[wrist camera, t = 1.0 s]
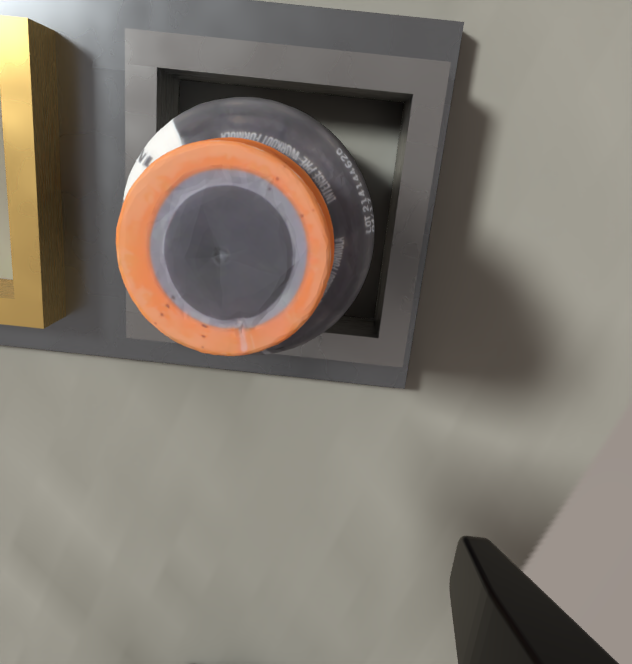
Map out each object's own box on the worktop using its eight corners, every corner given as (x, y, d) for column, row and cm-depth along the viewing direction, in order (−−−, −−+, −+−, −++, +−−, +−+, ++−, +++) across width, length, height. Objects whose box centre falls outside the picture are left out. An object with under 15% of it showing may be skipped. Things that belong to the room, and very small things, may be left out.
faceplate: (402, 380, 22) (409, 407, 20) (-175, 318, 23) (-235, 336, 20) (458, 28, 18) (476, 7, 16) (-239, -45, 19) (-323, -75, 16)
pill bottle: (172, 184, 20) (-16, 209, 10) (300, 85, 19) (253, -13, 8) (265, 311, 22) (194, 458, 11) (391, 226, 21) (451, 296, 10)
